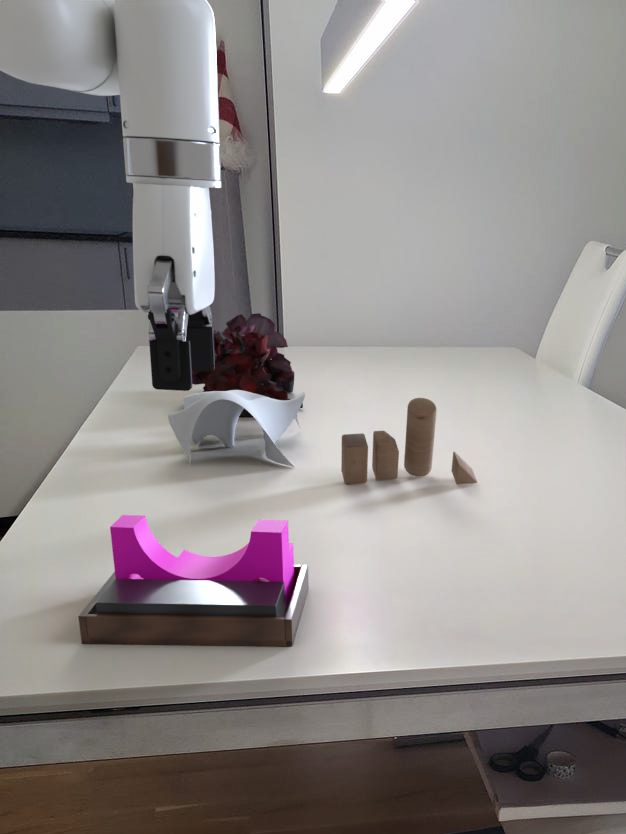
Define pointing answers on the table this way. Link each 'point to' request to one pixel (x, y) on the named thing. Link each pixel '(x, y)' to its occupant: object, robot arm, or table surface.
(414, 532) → the table surface
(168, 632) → the wooden tray
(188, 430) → the sculpture
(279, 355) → the flower arrangement
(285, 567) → the toy block
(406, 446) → the wooden block set
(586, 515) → the table surface
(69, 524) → the table surface
